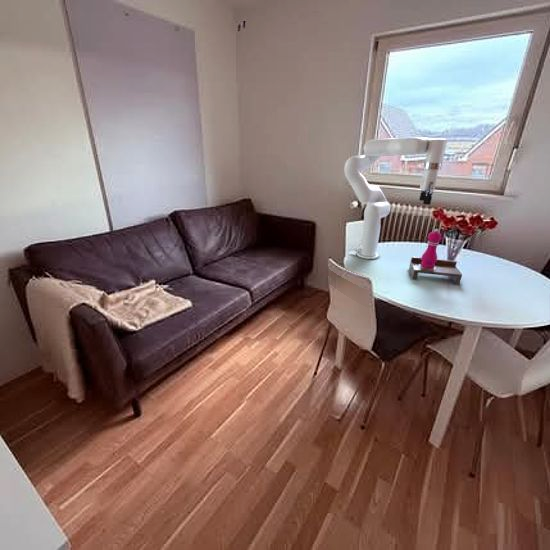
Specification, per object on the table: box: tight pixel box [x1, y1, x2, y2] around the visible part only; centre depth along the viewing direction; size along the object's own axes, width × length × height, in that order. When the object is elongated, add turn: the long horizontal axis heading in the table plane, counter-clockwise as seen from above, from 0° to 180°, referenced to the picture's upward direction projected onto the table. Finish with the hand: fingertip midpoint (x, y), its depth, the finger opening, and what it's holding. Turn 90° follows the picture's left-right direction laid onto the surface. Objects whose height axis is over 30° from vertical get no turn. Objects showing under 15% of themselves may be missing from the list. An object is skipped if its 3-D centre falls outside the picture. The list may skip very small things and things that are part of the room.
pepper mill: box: [420, 228, 442, 269], centre depth 155 cm, size 7×7×20 cm
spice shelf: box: [408, 256, 463, 285], centre depth 160 cm, size 22×12×8 cm, turn 77°
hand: (424, 202), depth 156 cm, fingers open, 9 cm apart
